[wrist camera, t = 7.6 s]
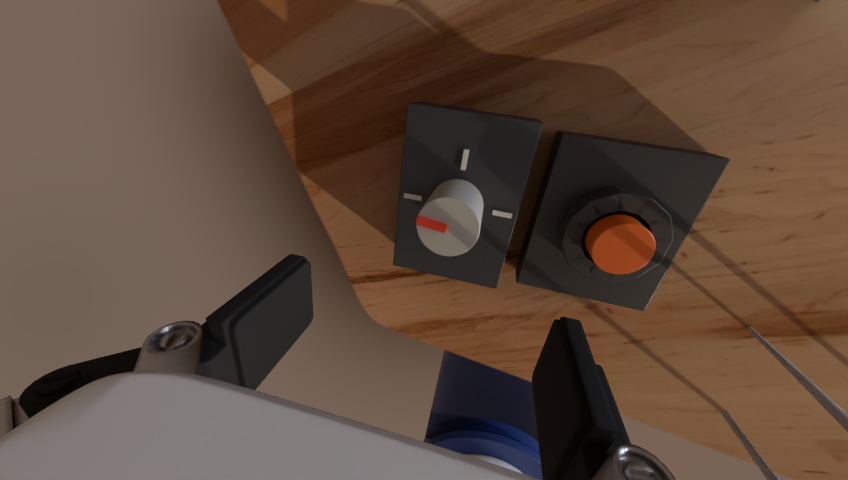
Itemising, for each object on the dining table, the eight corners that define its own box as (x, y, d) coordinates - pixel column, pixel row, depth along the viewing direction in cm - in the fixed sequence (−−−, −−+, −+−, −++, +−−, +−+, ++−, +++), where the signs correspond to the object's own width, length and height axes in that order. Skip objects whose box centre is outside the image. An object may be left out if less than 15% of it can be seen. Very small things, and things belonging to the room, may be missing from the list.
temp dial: (491, 187, 22) (488, 210, 18) (474, 236, 24) (468, 266, 20) (437, 172, 22) (422, 190, 18) (425, 220, 24) (409, 247, 20)
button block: (633, 295, 26) (654, 327, 23) (515, 269, 28) (517, 295, 24) (709, 152, 21) (752, 164, 17) (557, 129, 22) (568, 136, 19)
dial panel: (497, 270, 28) (496, 290, 25) (402, 249, 29) (392, 266, 27) (538, 119, 22) (543, 123, 20) (418, 101, 24) (407, 102, 21)
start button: (630, 266, 22) (640, 280, 20) (577, 255, 22) (583, 267, 21) (654, 219, 20) (667, 230, 18) (596, 209, 21) (603, 218, 19)
